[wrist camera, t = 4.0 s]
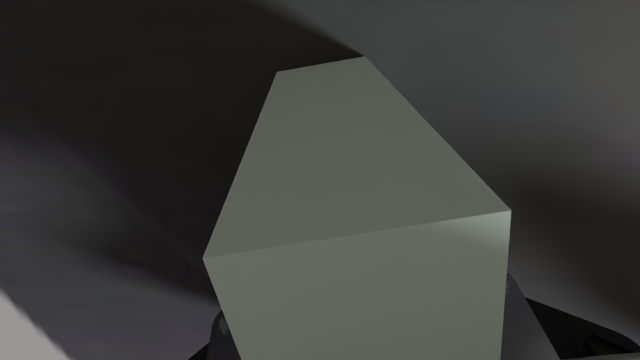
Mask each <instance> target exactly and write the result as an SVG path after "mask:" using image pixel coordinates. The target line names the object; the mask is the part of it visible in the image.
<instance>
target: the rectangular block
mask: <svg viewBox="0 0 640 360" xmlns="http://www.w3.org/2000/svg"><path fill="white" fill-rule="evenodd" d="M510 222H511V210H510V208H509V207H508V206H507V205H506V204H505V203H504V202H503V201H502V200H501V199H500V198H499V197H498V196H497V195H496V194H495V193H494V192H493V191H492V190H491V188H490V187H489V186H488V185H487V184H486V183H485V182H484V181H483V180H482V179H481V178H480V177H479V176H478V175H477V174H476V173H475V172H474V171H473V170H472V168H471V167H470V166H469V165H468V164H467V163H466V162H465V161H464V160H463V159H462V158H461V157H460V156H459V155H458V154H457V153H456V152H455V151H454V150H453V149H452V147H451V146H450V145H449V144H448V143H447V142H446V141H445V140H444V139H443V138H442V137H441V136H440V135H439V134H438V133H437V132H436V131H435V130H434V129H433V127H432V126H431V125H430V124H429V123H428V122H427V121H426V120H425V119H424V118H423V117H422V116H421V115H420V114H419V113H418V112H417V111H416V110H415V109H414V108H413V106H412V105H411V104H410V103H409V102H408V101H407V100H406V99H405V98H404V97H403V96H402V95H401V94H400V93H399V92H398V91H397V90H396V89H395V88H394V86H393V85H392V84H391V83H390V82H389V81H388V80H387V79H386V78H385V77H384V76H383V75H382V74H381V73H380V72H379V71H378V70H377V69H376V68H375V67H374V65H373V64H372V63H371V62H370V61H369V60H368V59H367V58H366V57H365V56H364V57H358V58H352V59H347V60H341V61H336V62H330V63H324V64H319V65H313V66H307V67H302V68H296V69H291V70H285V71H279V72H277V73H276V76H275V78H274V81H273V83H272V86H271V88H270V91H269V93H268V96H267V98H266V101H265V103H264V106H263V108H262V111H261V113H260V116H259V118H258V121H257V123H256V126H255V128H254V131H253V133H252V136H251V138H250V141H249V143H248V146H247V148H246V151H245V153H244V156H243V158H242V161H241V163H240V166H239V168H238V171H237V173H236V176H235V178H234V181H233V183H232V186H231V188H230V191H229V193H228V196H227V198H226V201H225V203H224V206H223V208H222V211H221V213H220V216H219V218H218V221H217V223H216V226H215V228H214V231H213V233H212V236H211V238H210V241H209V243H208V246H207V248H206V251H205V253H204V256H203V258H202V259H203V261H204V264H205V267H206V269H207V272H208V274H209V277H210V280H211V282H212V285H213V287H214V290H215V293H216V295H217V298H218V300H219V303H220V306H221V308H222V311H223V313H224V316H225V318H226V321H227V324H228V326H229V329H230V331H231V334H232V337H233V339H234V342H235V344H236V347H237V350H238V352H239V355H240V357H241V360H500V357H501V344H502V330H503V317H504V303H505V290H506V276H507V263H508V249H509V236H510Z"/></svg>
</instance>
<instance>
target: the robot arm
mask: <svg viewBox="0 0 640 360" xmlns="http://www.w3.org/2000/svg"><path fill="white" fill-rule="evenodd" d="M188 360H241V357H240V355H239V352H238V350H237V347H236V344H235V342H234V339H233V337H232V334H231V331H230V329H229V326H228V324H227V321H226V318H225V316H224V313H223V311H222V310H221V311H220V312H219V313H218V315H217V316H216V317H215V319H214V322H213V325H212V331H211V336H210V342H209V343H208V344H207V345H206V346H204V347H203V348H202V349H201V350H199V351H198V352H197V353H196V354H194V355H193V356H192V357H191V358H189V359H188ZM500 360H640V346H639V345H638V344H636V343H635V342H634V341H632V340H631V339H629V338H628V337H626V336H624V335H622V334H620V333H618V332H615V331H613V330H610V329H608V328H605V327H602V326H600V325H597V324H594V323H592V322H589V321H587V320H584V319H581V318H579V317H576V316H573V315H571V314H568V313H565V312H563V311H560V310H557V309H555V308H552V307H549V306H547V305H544V304H542V303H539V302H536V301H534V300H531V299H528V298H526V297H524V295H523V294H522V292H521V290H520V288H519V287H518V285H517V283H516V281H515V280H514V279H513V278H512V276H511V275H510V274H509V273H507V276H506V290H505V303H504V317H503V330H502V344H501V357H500Z"/></svg>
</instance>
